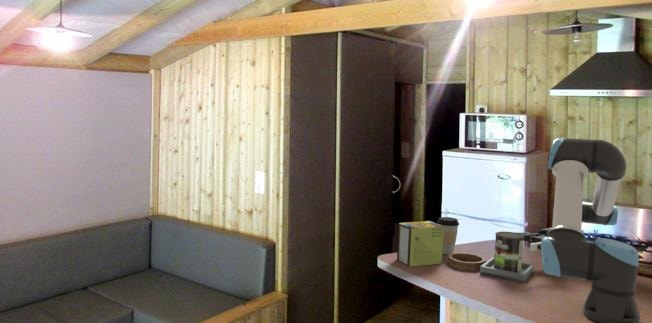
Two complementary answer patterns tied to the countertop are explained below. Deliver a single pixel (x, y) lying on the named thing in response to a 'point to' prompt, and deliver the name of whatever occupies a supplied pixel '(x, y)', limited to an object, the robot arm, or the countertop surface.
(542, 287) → the countertop surface
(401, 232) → the protein box
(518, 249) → the coffee can
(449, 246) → the coffee cup
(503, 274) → the tray
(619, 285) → the robot arm
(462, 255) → the holder ring
